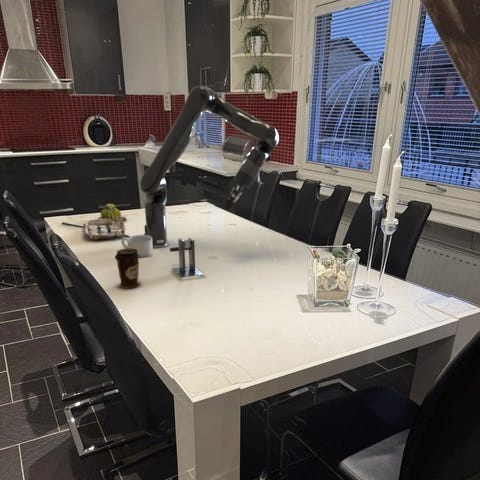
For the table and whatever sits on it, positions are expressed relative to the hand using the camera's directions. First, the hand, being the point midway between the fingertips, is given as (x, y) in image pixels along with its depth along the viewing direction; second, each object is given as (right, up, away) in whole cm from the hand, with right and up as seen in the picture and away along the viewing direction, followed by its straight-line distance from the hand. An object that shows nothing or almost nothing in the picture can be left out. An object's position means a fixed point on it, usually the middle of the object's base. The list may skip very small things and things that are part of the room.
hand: (227, 208), depth 192 cm
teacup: (-40, -17, +13) cm, 45 cm away
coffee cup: (-35, -33, -22) cm, 53 cm away
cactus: (-68, +11, +76) cm, 102 cm away
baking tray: (-64, -3, +46) cm, 79 cm away
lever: (-17, -18, -10) cm, 27 cm away
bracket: (-15, -28, -9) cm, 33 cm away
